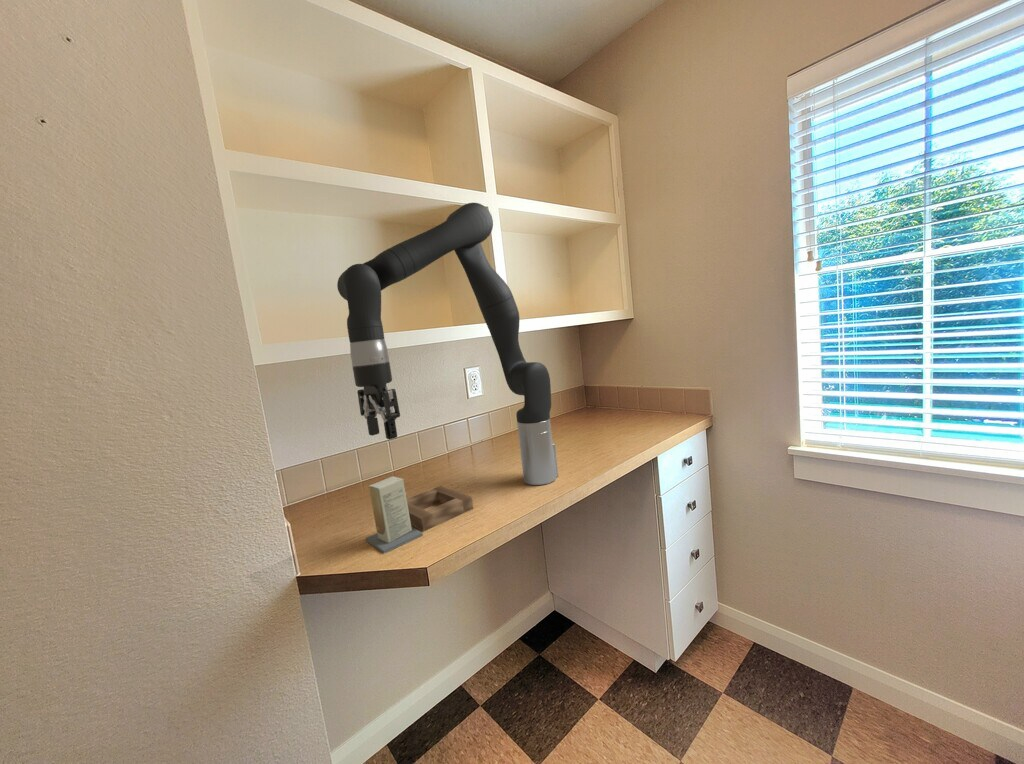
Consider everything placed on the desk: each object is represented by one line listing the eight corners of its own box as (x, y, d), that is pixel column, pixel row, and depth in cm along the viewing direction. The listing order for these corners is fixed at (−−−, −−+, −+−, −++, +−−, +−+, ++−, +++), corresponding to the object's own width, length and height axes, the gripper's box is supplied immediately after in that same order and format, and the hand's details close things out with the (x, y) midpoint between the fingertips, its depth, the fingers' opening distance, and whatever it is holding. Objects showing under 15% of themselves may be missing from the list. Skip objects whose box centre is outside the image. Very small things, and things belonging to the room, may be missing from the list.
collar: (442, 496, 109) (440, 485, 109) (473, 508, 99) (471, 496, 98) (394, 515, 100) (392, 504, 99) (423, 531, 89) (421, 518, 89)
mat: (403, 524, 94) (402, 521, 94) (422, 535, 88) (422, 532, 87) (366, 540, 88) (365, 537, 88) (384, 553, 82) (383, 550, 81)
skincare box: (401, 526, 92) (394, 475, 90) (412, 531, 89) (404, 478, 87) (376, 539, 87) (367, 485, 86) (386, 544, 84) (378, 488, 83)
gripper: (403, 358, 83) (414, 435, 84) (373, 361, 93) (384, 429, 95) (367, 363, 77) (381, 445, 79) (340, 365, 88) (353, 437, 90)
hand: (382, 436), depth 87 cm, fingers open, 8 cm apart
